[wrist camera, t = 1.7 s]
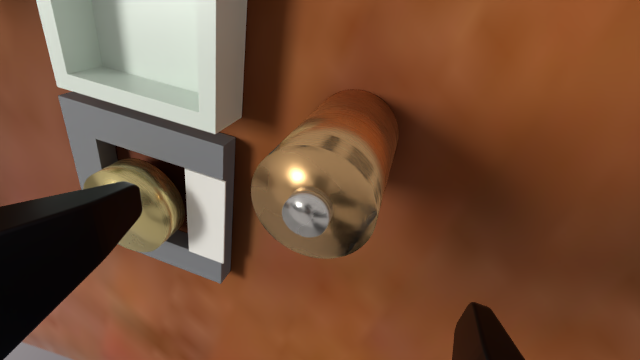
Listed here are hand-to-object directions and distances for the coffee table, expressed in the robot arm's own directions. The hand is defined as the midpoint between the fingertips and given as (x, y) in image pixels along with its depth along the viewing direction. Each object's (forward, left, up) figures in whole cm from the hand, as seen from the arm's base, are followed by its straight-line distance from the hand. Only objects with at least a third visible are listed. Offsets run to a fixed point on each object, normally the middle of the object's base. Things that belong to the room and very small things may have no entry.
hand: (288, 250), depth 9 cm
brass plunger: (+11, +7, -7) cm, 15 cm away
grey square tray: (+11, +7, -8) cm, 15 cm away
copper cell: (0, 0, -8) cm, 8 cm away
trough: (+10, -4, -8) cm, 14 cm away
